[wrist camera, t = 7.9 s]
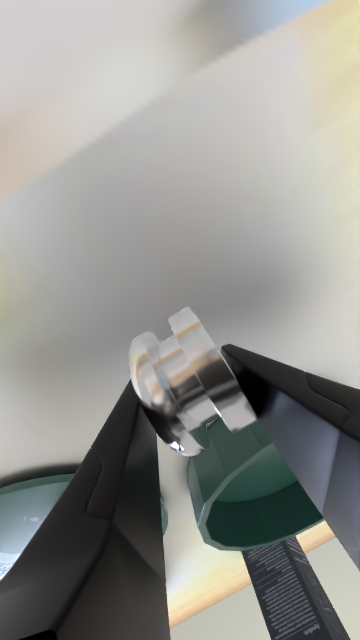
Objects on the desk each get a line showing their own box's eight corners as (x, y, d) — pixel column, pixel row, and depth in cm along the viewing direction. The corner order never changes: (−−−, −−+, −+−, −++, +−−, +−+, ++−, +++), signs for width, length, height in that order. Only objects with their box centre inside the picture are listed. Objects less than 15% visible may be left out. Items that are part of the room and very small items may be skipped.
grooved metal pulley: (218, 363, 11) (273, 447, 7) (174, 389, 11) (200, 489, 7) (177, 291, 9) (220, 347, 5) (122, 324, 9) (114, 409, 5)
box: (236, 541, 25) (299, 726, 16) (273, 517, 25) (360, 693, 15) (260, 551, 29) (324, 708, 19) (293, 531, 28) (374, 681, 19)
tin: (204, 522, 21) (216, 571, 18) (166, 423, 14) (176, 476, 11) (335, 467, 23) (367, 503, 20) (362, 353, 16) (418, 383, 13)
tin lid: (17, 600, 19) (-22, 729, 14) (-144, 529, 12) (-342, 742, 7) (183, 532, 21) (199, 624, 16) (132, 432, 14) (132, 547, 9)
